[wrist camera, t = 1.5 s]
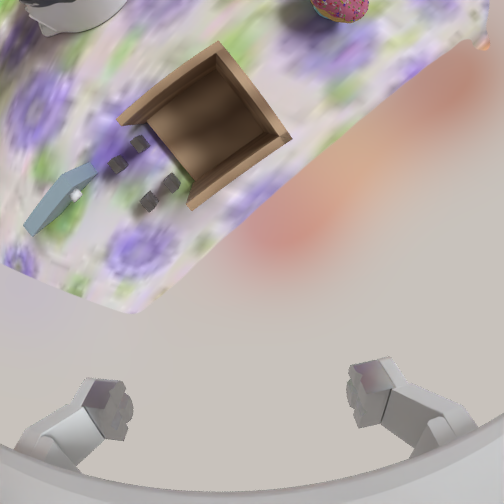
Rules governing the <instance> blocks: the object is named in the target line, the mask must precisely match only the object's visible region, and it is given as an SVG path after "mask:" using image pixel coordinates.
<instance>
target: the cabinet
mask: <svg viewBox="0 0 504 504" xmlns="http://www.w3.org/2000/svg"><path fill="white" fill-rule="evenodd" d="M116 120H117V121H118V123H119V124H120V125H121V126H126V125H135V124H144V123H146V122H147V123H148V124H149V125H150V126H151V128H152V129H153V130H154V131H155V132H156V134H157V135H158V136H159V137H160V139H161V140H162V141H163V142H164V144H165V145H166V146H167V147H168V148H169V150H170V151H171V152H172V153H173V155H174V156H175V157H176V158H177V159H178V161H179V162H180V163H181V164H182V166H183V167H184V168H185V169H186V171H187V172H188V173H189V174H190V175H191V177H192V178H193V179H194V180H195V181H194V182H193V184H192V187H191V190H190V193H189V196H188V199H187V202H186V205H187V206H188V207H189V209H190V210H191V211H193V210H194V209H196V208H197V207H198V206H199V205H201V204H202V203H203V202H205V201H206V200H207V199H209V198H210V197H211V196H213V195H214V194H215V193H217V192H218V191H219V190H221V189H222V188H223V187H225V186H226V185H227V184H229V183H230V182H232V181H233V180H234V179H236V178H237V177H238V176H240V175H241V174H243V173H244V172H245V171H247V170H248V169H250V168H251V167H252V166H254V165H255V164H257V163H258V162H259V161H261V160H262V159H264V158H265V157H267V156H268V155H270V154H271V153H272V152H274V151H275V150H277V149H278V148H280V147H281V146H283V145H284V144H286V143H287V142H289V141H290V140H292V137H291V136H290V134H289V133H288V131H287V130H286V129H285V127H284V126H283V124H282V123H281V121H280V120H279V119H278V117H277V116H276V114H275V113H274V111H273V110H272V109H271V107H270V106H269V105H268V103H267V102H266V100H265V99H264V98H263V96H262V95H261V94H260V92H259V91H258V90H257V88H256V87H255V86H254V84H253V83H252V82H251V80H250V79H249V78H248V76H247V75H246V74H245V73H244V71H243V70H242V69H241V68H240V66H239V65H238V64H237V62H236V61H235V60H234V59H233V57H232V56H231V55H230V54H229V53H228V51H227V50H226V49H225V48H224V47H223V45H222V44H221V43H220V42H219V41H217V42H215V43H214V44H212V45H211V46H209V47H208V48H206V49H204V50H203V51H201V52H200V53H198V54H197V55H195V56H194V57H193V58H191V59H190V60H188V61H187V62H185V63H184V64H183V65H181V66H180V67H178V68H177V69H176V70H174V71H173V72H172V73H170V74H169V75H168V76H166V77H165V78H164V79H162V80H161V81H160V82H159V83H157V84H156V85H155V86H154V87H152V88H151V89H150V90H149V91H147V92H146V93H145V94H144V95H143V96H141V97H140V98H139V99H138V100H137V101H136V102H134V103H133V104H132V105H131V106H130V107H129V108H128V109H126V110H125V111H124V112H123V113H122V114H121V115H120V116H119V117H118V118H117V119H116ZM130 143H131V144H132V145H133V147H134V148H135V149H136V150H137V151H138V153H141V152H143V151H145V150H146V149H147V148H148V147H150V145H149V143H148V142H147V141H146V140H145V138H144V137H143V136H142V135H141V136H137V137H135V138H134V139H133V140H131V141H130ZM107 164H108V165H109V166H110V167H111V168H112V170H113V171H114V172H115V173H116V174H117V173H119V172H121V171H122V170H124V169H125V168H126V167H127V166H128V164H127V162H126V161H125V160H124V159H123V157H122V156H121V155H119V156H116V157H114V158H112V159H111V160H110V161H109V162H108V163H107ZM163 183H164V184H165V185H166V186H167V188H168V189H169V190H170V191H171V192H172V193H174V192H175V191H176V190H177V189H178V188H179V186H180V184H181V182H180V181H179V180H178V179H177V177H176V176H175V175H174V174H173V173H171V174H170V175H168V176H167V177H166V179H165V180H164V181H163ZM158 202H159V200H158V199H157V198H156V197H155V196H154V195H153V193H152V192H151V191H149V192H148V193H147V194H146V195H145V196H144V197H143V198H142V200H141V201H140V203H141V204H142V205H143V206H144V207H145V209H146V210H147V211H148V212H151V211H152V210H153V209H154V208H155V207H156V205H157V203H158Z"/></svg>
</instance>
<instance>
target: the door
mask: <svg viewBox="0 0 504 504" xmlns="http://www.w3.org/2000/svg"><path fill="white" fill-rule="evenodd" d="M97 174H98V172H97V171H96V169H95V168H94V167H93V166H92V165H91V163H90V162H88V163H86V164H84V165H82V166H79V167H77V168H75V169H73V170H70V171H68V172H66V173H64V174H62V175H61V176H60V177H59V178H58V180H57V181H56V182H55V183H54V184H53V186H52V187H51V188H50V189H49V191H48V192H47V193H46V195H45V196H44V197H43V198H42V200H41V201H40V202H39V204H38V205H37V206H36V208H35V209H34V210H33V212H32V213H31V215H30V216H29V217H28V219H27V220H26V222H25V223H24V225H23V226H24V227H25V228H26V230H27V231H28V232H29V233H30V235H31V236H32V237H33V236H34V235H35V234H37V233H38V232H39V231H40V230H41V229H43V228H44V227H45V226H46V225H48V224H49V223H50V222H51V221H53V220H54V219H55V218H57V217H58V216H59V215H60V214H61V213H62V212H63V211H64V210H65V208H66V207H67V206H68V205H69V204H70V203H71V201H73V202H74V203H75V202H76V201H77V200H78V199H79V198H80V197H81V196H82V195H83V194H82V193H81V192H80V191H81V190H82V189H83V188H84V187H85V186H86V185H87V184H88V183H89V182H90V181H91V180H92V179H93V178H94V177H95V176H96V175H97Z"/></svg>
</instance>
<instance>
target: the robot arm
mask: <svg viewBox="0 0 504 504" xmlns="http://www.w3.org/2000/svg"><path fill="white" fill-rule="evenodd" d="M126 1H127V0H19V2H21V3H23V4H25V5H27V6H26V7H25V10H26V11H27V12H28V13H29V16H30V17H31V18H32V19H34V20H36V21H38V24H39V26H40V29H41V32H42V34H43V35H44V36H46V37H50V36H53V35H56V34H58V33H61V32H81V31H86V30H89V29H91V28H94V27H96V26H98V25H100V24H102V23H103V22H105V21H106V20H108V19H109V18H111V17H112V16H113V15H114V14H115V13H117V12H118V11H119V10H120V9H121V7H122V6H123V5H124V4H125V3H126ZM348 374H349V376H350V378H351V379H350V380H349V381H348V382H347V388H346V391H347V399H348V402H349V405H350V407H352V408H354V409H355V410H354V418H355V420H356V423H357V426H358V428H362V427H367V426H372V425H376V424H380V423H381V425H382V426H384V427H385V428H387V429H388V430H389V431H391V432H392V433H394V434H395V435H396V436H398V437H399V438H400V439H402V440H403V441H405V442H406V443H407V444H409V445H410V446H412V447H413V448H415V449H414V451H413V452H412V454H411V456H410V457H409V459H407V460H404V461H401V462H399V463H395V464H393V465H389V466H386V467H383V468H380V469H377V470H373V471H369V472H366V473H362V474H358V475H355V476H350V477H346V478H342V479H337V480H332V481H327V482H322V483H316V484H310V485H304V486H297V487H289V488H282V489H281V488H280V489H271V490H258V491H238V492H202V491H182V490H170V489H160V488H151V487H144V486H137V485H131V484H125V483H120V482H115V481H109V480H105V479H101V478H96V477H92V476H88V475H85V474H82V473H81V472H80V470H79V469H78V468H77V467H76V466H77V465H78V464H79V463H80V462H81V461H82V460H83V459H84V458H86V457H87V456H88V455H89V454H90V453H91V452H92V451H93V450H94V449H95V448H96V447H97V446H99V445H100V444H101V443H102V442H103V441H104V439H111V440H119V441H124V439H125V436H126V433H127V430H128V427H127V425H126V423H127V422H129V421H130V420H131V419H132V416H133V404H132V400H131V398H130V397H129V396H128V395H127V394H126V393H125V389H126V387H125V386H124V384H123V382H122V381H118V380H107V379H94V378H86V379H84V381H83V383H82V385H81V386H80V388H79V390H78V391H77V393H76V395H75V396H74V398H73V400H72V402H71V403H70V405H68V404H66V405H65V406H63V407H62V408H60V409H58V410H56V411H55V412H54V413H52V414H50V415H48V416H47V417H45V418H43V419H42V420H40V421H38V422H37V423H35V424H33V425H32V426H30V427H28V428H27V429H25V431H24V433H23V434H22V436H21V438H20V440H19V441H18V443H17V445H16V447H15V448H14V450H13V449H11V448H8V447H6V446H4V445H2V444H0V504H504V413H503V414H501V415H499V416H498V417H496V418H495V419H493V420H491V421H489V422H488V423H486V424H484V425H482V426H480V427H479V428H478V426H477V425H476V423H475V422H474V420H473V419H472V417H471V416H470V415H469V413H468V412H467V410H466V409H465V408H464V406H463V405H461V404H458V403H456V402H454V401H452V400H449V399H447V398H444V397H442V396H440V395H438V394H436V393H433V392H431V391H429V390H427V389H424V388H422V387H420V386H418V385H416V384H413V383H411V384H409V383H408V382H407V380H406V379H405V377H404V376H403V374H402V373H401V371H400V370H399V368H398V367H397V365H396V364H395V362H394V361H393V359H392V358H391V357H384V358H380V359H377V360H372V361H368V362H363V363H359V364H354V365H350V368H349V373H348Z"/></svg>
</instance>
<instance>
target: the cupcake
mask: <svg viewBox="0 0 504 504" xmlns="http://www.w3.org/2000/svg"><path fill="white" fill-rule="evenodd" d="M311 3H312V4H313V7H314V9H315V11H316V12H317V13H318V14H319V15H320V16H322V17H324V18H326V19H330V20H332V21H335V22H343V23H352V22H355V21H357V20H359V19H361V18H362V17H363V16H364V14H365V13H366V12H367V10H368V6H369V2H368V0H311Z"/></svg>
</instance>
